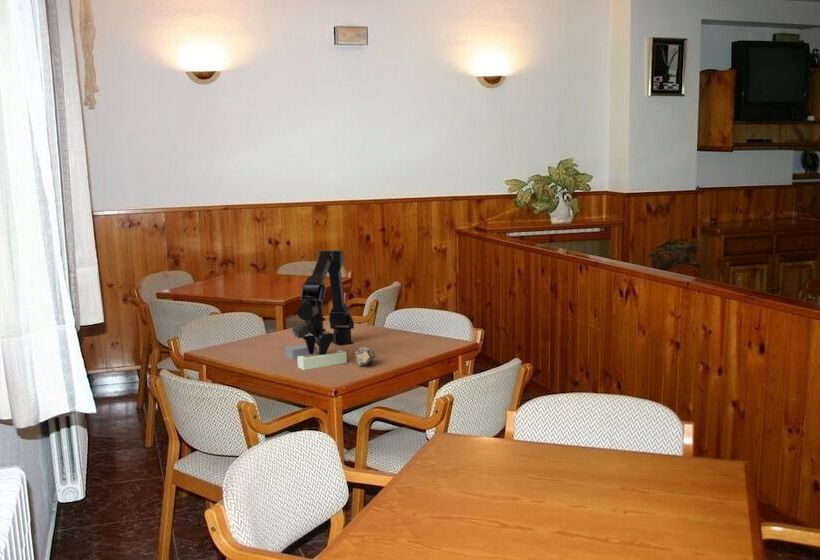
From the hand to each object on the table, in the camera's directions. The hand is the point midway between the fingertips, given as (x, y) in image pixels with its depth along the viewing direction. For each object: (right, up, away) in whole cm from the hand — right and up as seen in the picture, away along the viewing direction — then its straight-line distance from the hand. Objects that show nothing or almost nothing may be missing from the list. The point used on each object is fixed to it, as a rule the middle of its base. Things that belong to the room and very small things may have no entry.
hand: (316, 356), depth 307 cm
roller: (0, -2, 0) cm, 2 cm away
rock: (+17, -3, -4) cm, 18 cm away
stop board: (+3, -3, -4) cm, 5 cm away
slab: (-7, -1, +11) cm, 13 cm away
